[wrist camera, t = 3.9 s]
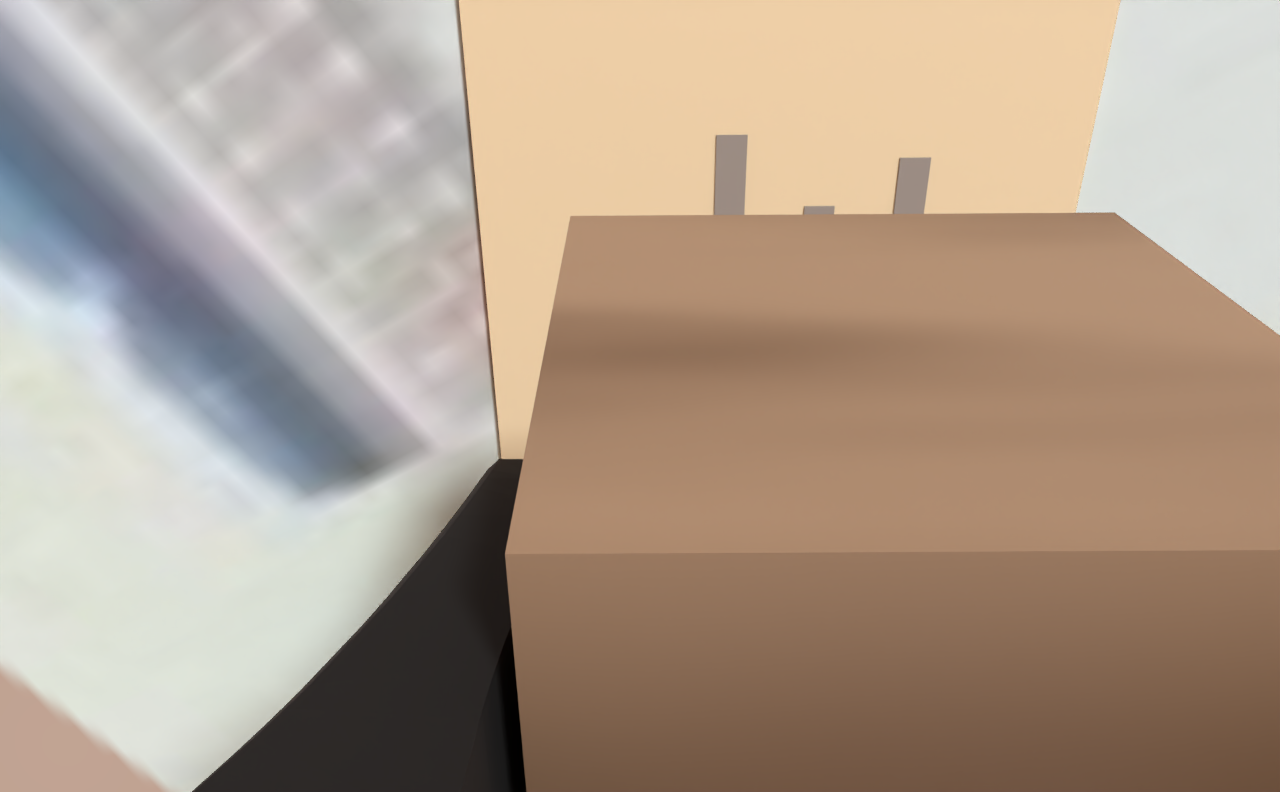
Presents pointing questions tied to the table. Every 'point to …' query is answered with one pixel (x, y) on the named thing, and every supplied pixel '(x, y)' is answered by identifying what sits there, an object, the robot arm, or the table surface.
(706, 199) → the envelope
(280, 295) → the table surface
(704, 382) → the walnut block
